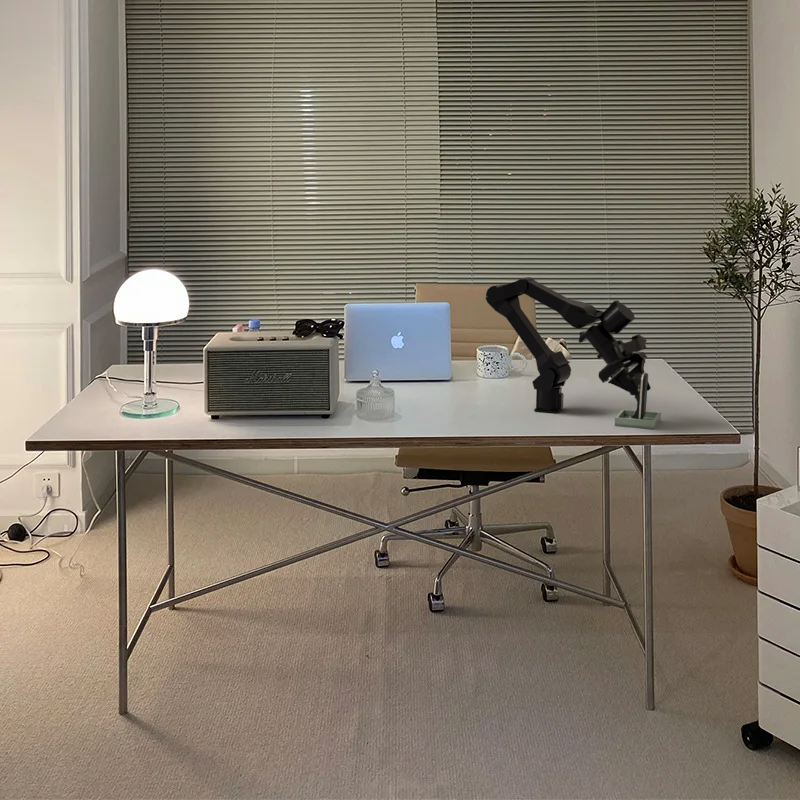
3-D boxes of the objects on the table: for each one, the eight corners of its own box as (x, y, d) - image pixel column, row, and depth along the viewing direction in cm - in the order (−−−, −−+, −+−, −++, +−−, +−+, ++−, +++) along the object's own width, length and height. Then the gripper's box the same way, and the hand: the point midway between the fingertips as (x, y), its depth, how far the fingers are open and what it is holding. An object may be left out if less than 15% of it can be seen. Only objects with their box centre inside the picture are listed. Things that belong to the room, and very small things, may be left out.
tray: (614, 425, 266) (614, 417, 266) (621, 417, 275) (622, 409, 275) (654, 429, 263) (654, 421, 262) (660, 420, 272) (661, 412, 271)
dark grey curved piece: (630, 413, 272) (633, 370, 270) (645, 414, 271) (648, 371, 269) (627, 419, 266) (630, 375, 263) (642, 420, 265) (645, 376, 262)
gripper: (612, 330, 258) (652, 379, 254) (642, 320, 273) (680, 367, 269) (581, 357, 264) (620, 406, 261) (612, 347, 279) (649, 392, 276)
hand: (643, 392), depth 266 cm, fingers closed on dark grey curved piece, 7 cm apart
